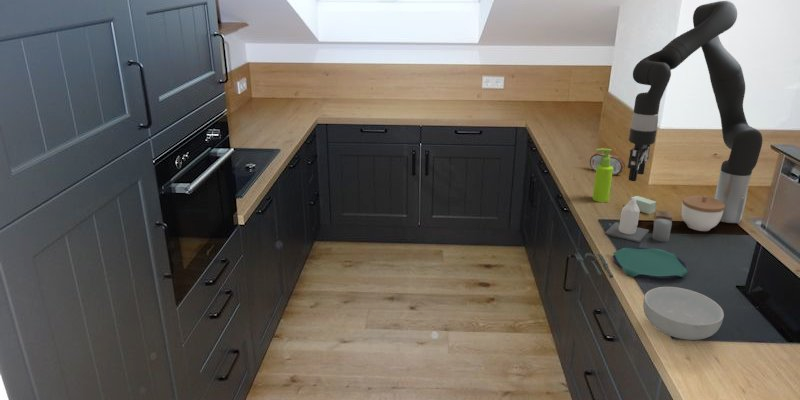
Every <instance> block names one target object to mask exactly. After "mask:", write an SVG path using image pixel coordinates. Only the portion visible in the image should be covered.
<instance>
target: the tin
mask: <svg viewBox="0 0 800 400" xmlns="http://www.w3.org/2000/svg"><path fill="white" fill-rule="evenodd" d="M604 153H605V152H602V151H600V152H596V153H594V154H592V156H591V157H590V158H589V166H590V168H591V169H592V170H593V171H595V172H596V168H597V165H601V158H602V157H603V156H604ZM609 157H610V158H611V162H610V166H612V167H613V173H612V176H617V175H618V176H619V174H621V173H623V172H624V170H625V168H626V164H625V161H624V160H623V158H622V157H620V156H618V155H614V154H610V153H609Z"/></svg>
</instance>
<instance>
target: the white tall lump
mask: <svg viewBox="0 0 800 400" xmlns="http://www.w3.org/2000/svg"><path fill="white" fill-rule="evenodd" d="M640 212H641V211H640V210H639V208H638V205H637V204H636V198H633V199H631V201H630V200H629V201H628V202H627V203H626V204H625V205H624V207H622V209H621V214H620V220H619V223H620V224H619V231H620V232H622V233H625V234H634V233H635V232H636V229H637V227H638V225H639V218H640Z"/></svg>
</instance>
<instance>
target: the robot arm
mask: <svg viewBox="0 0 800 400" xmlns="http://www.w3.org/2000/svg"><path fill="white" fill-rule="evenodd" d="M737 18H738V9H737V6H736V5H735V3H733V2H732V1H730V0H720V1H719V0H717V1H715V2H709V3H706V4H700V5H699V6H698V7H696V8H695V10H694V12H693V15H692V23H693V28H691V29H689V30H687V31H686V32H683V33H682V34H680V35H678V36H676V37H675V38H673V39H672V40H671V41H670V42H668V43H666V45H665V46H664V47H662V49H660V50H658V51H656V52H654V53H652V54H650V55H648V56H646V57H644V58H643V59H641V60H640V61H639V62H638V63H637V64H636V65H635V66H634V67H633V69H632V70H633V71H632V78H633V80H634V81H635V83H637V84H639V85H646V86H650V87H649V88H648V89H649V90H647V91H646V92H640V93H637V95H636V96H635V100H634V106H633V113H632V117H631V122H630V128H629V129H630V130H629V134H628V135H629V137H628V141H629V142H630V143H631V144H634V146H633V148H632V149H630V151H629V158H628V162H627V164H628V165H627V169H629V174H628V175H629V176H628V181H631V182H636V181H637V179H638V178H637V177H638V175H641V176H642V175H644V174H645V170H646V164H647V161H648V160H649V158H650V157H649V155H650V151H651V145H654V144H655V141H656V138H657V137H656V136H657V130H658V129H657V128H658V123H659V111H660V105H661V100H662V98H663V96H664V93H665V91H666V88H667V86H668V84H669V82H670V80H671V77H672V70H674V69H676V68H677V67H678V66H679V65H681V64H682V63H683V62H685V61H686V59H688V58H689V57H690V56H691V55H692V54H694V53H695V52H696V51H697V50H699V49H700V48H701V51H702V53H703V56H704V59H705V63H706V66H707V71H708V75H709V79H710V84H711V88H712V91H713V95H714V98H715V103H716V106H717V109H718V112H719V117H720V123H721V133H722V138H723V143H724V144H725V146H726V147H727V148H728V149H730V153H729V157H728V160H724V161H723V162H722V164H721V166H720V171H719V175H718V180H717V184H716V185H717V186H716V189H715V195H714V199H717V200H719V201H721V202H723V203H724V204H725V208H724V211H723V215H722V218H721V220H720V222H722V223H727V224H738V225H739V224H740V223H741V221H742V219H743V213H744V210H745V206H746V201H747V198H748V197H747V196H748V190H749V185H750V181H751V176H752V173H753V170H754V169H755V167H756V165H757V163H758V161H759V158H760V157H759V156H760V153H761V150H762V146H763V135H762V133H761V131H759V130H758V129H757V128H755V127H752V126H750V125H749V124H748V122H747V119H746V115H745V112H744V111H745V110H744V99H745V94H746V81H745V78H744V73H743V68H742V65H741V64H740V63H739V61H738V60H737V59H736V58H735V57H734V56H733V55H732V54H731V53H730V52H729V51H728V50H727V49H726V48H725V47H724V45H723V44H722V41H721V39H720V37H719V36H720V35H721V34H723V33H725V32H727V31H728V30H729V29H731V28H733V26H734V25H735V23H736V21H737Z"/></svg>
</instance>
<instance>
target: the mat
mask: <svg viewBox="0 0 800 400" xmlns="http://www.w3.org/2000/svg"><path fill="white" fill-rule="evenodd" d="M619 224H620V222H616V221H615V222H614V223H613V224H612V225H611V226H610V227H609V228H608V229H607V230H606V231H605V232H604V234H605V235H606V236H611V237H615V238H619V239H622V240H627V241H631V242H636V243H641V242H642V240H643V239H644V238H645V237H646V236H647V235H648V233H650V230H649V229H646V228H642V227H638V226H637V229H636V232H635V233H634V234H625V233H622V232H620V231H619Z"/></svg>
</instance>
